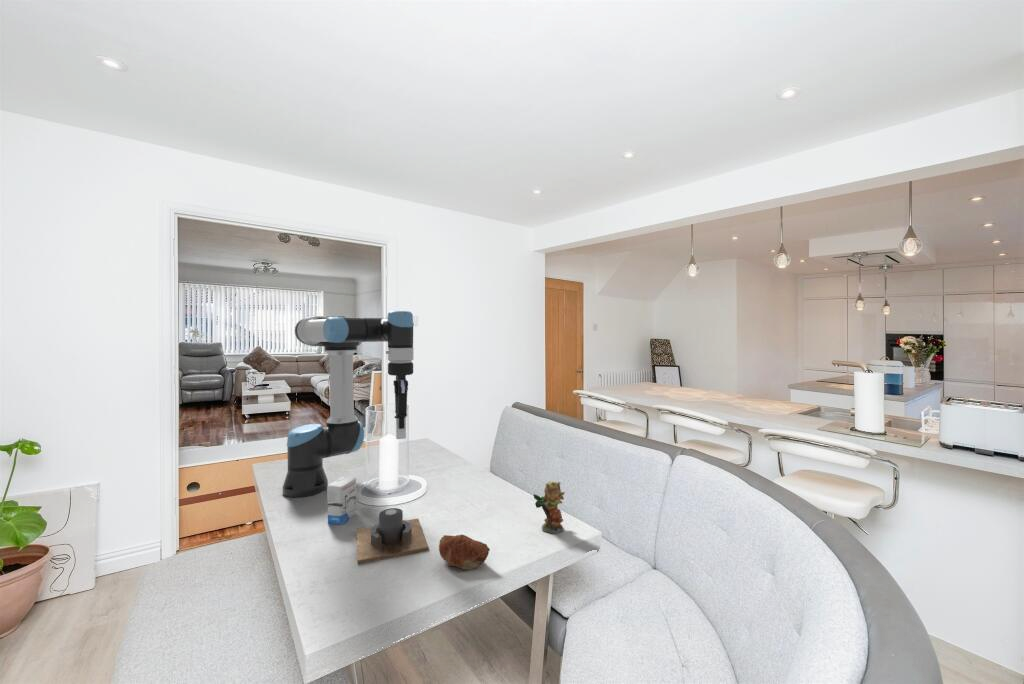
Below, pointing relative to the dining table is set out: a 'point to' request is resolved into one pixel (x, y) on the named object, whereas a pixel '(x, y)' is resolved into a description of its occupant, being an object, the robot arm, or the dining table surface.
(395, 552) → the brown cardboard plate
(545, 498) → the figurine
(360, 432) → the robot arm
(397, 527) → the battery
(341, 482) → the ink box
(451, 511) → the dining table surface
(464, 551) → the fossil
